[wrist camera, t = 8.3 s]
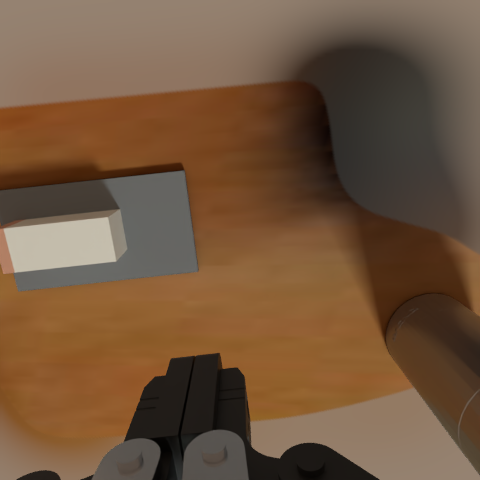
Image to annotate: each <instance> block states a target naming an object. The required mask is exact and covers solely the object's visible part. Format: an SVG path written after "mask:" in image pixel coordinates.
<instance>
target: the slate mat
mask: <svg viewBox="0 0 480 480" xmlns="http://www.w3.org/2000/svg"><path fill="white" fill-rule="evenodd" d="M116 209H120V212H121V217H122V222H123V228H124V233H125V239H126V244H127V250H126V251H125V253H124V254H123V255H122V256H121V257H120V258H119V259H118V260H117V261H116V262H107V263H98V264H89V265H80V266H71V267H62V268H53V269H43V270H34V271H25V272H16V273H14V277H15V280H16V284H17V288H18V291H26V290H35V289H44V288H53V287H62V286H72V285H81V284H90V283H99V282H108V281H117V280H126V279H135V278H144V277H154V276H163V275H172V274H181V273H190V272H198V263H197V256H196V249H195V241H194V234H193V227H192V220H191V212H190V205H189V198H188V191H187V183H186V176H185V170H182V171H173V172H164V173H155V174H146V175H136V176H127V177H118V178H109V179H100V180H91V181H82V182H72V183H63V184H54V185H45V186H36V187H27V188H18V189H8V190H0V223H1V226H3V225H5V224H8V223H11V222H13V221H16V220H25V219H34V218H43V217H52V216H61V215H71V214H80V213H89V212H98V211H107V210H116Z"/></svg>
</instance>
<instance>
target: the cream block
mask: <svg viewBox="0 0 480 480" xmlns="http://www.w3.org/2000/svg"><path fill="white" fill-rule="evenodd" d="M126 250H127V244H126V239H125V233H124V228H123V222H122V217H121V212H120V209H116V210H107V211H98V212H89V213H80V214H71V215H61V216H52V217H43V218H34V219H25V220H16V221H13V222H11V223H8V224H5V225H3V226H0V263H1V266H2V270H3V274H7V273H16V272H25V271H34V270H43V269H53V268H62V267H71V266H80V265H89V264H98V263H107V262H116V261H117V260H118V259H119V258H120V257H121V256H122V255H123V254H124V253H125V251H126Z"/></svg>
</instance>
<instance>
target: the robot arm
mask: <svg viewBox="0 0 480 480" xmlns="http://www.w3.org/2000/svg"><path fill="white" fill-rule="evenodd" d="M386 345H387V348H388V351H389V353H390V355H391V356H392V358H393V359H394V360H395V362H396V363H397V365H398V366H399V367H400V369H401V370H402V371H403V373H404V374H405V376H406V377H407V379H408V380H409V381H410V383H411V384H412V385H413V387H414V388H415V389H416V390H417V392H418V393H419V395H420V396H421V397H422V399H423V400H424V401H425V403H426V404H427V405H428V407H429V408H430V409H431V410H432V412H433V414H434V415H435V416H436V417H437V419H438V420H439V422H440V423H441V424H442V426H443V427H444V428H445V430H446V431H447V432H448V434H449V435H450V436H451V438H452V439H453V440H454V442H455V443H456V444H457V446H458V447H459V448H460V450H461V451H462V453H463V454H464V455H465V457H466V458H467V459H468V460H469V462H470V463H471V464H472V466H473V467H474V468H475V470H476V471H477V472H478V474H479V475H480V316H478V315H477V314H475V313H474V312H473V311H471V310H470V309H468V308H467V307H466V306H464V305H463V304H461V303H460V302H459V301H457V300H455V299H454V298H452V297H450V296H447V295H444V294H435V293H432V294H424V295H421V296H417V297H415V298H413V299H411V300H409V301H407V302H406V303H404V304H403V305H402V306H401V307H399V309H398V310H397V311H396V312H395V313H394V314H393V316H392V318H391V320H390V321H389V324H388V327H387V330H386ZM250 429H251V428H250V415H249V408H248V400H247V392H246V385H245V377H244V375H243V374H242V373H241V371H240V370H239V369H238V368H228V369H222V362H221V356H220V353H215V354H206V355H197V356H196V357H195V356H189V357H180V358H172V359H171V360H170V363H169V366H168V370H167V373H166V376H157V377H154V378H153V379H152V380H151V381H150V382H149V383H148V384H147V385H146V386H145V387H144V390H143V393H142V395H141V398H140V402H139V403H138V406H137V408H136V411H135V414H134V416H133V419H132V422H131V424H130V427H129V429H128V432H127V435H126V437H125V440H124V442H123V443H121V444H119V445H117V446H115V447H114V448H113V449H111V450H110V451H109V452H108V453H107V454H106V455H105V456H104V457H103V459H102V461H101V462H100V464H99V466H98V468H97V470H96V472H95V474H94V475H91V476H89V477H87V478H84V479H81V480H379V479H378V478H376V477H375V476H373V475H371V474H370V473H368V472H367V471H365V470H364V469H362V468H361V467H359V466H357V465H356V464H354V463H353V462H351V461H350V460H348V459H347V458H345V457H343V456H342V455H340V454H339V453H337V452H336V451H334V450H333V449H331V448H329V447H327V446H325V445H322V444H317V443H303V444H299V445H296V446H293V447H291V448H289V449H288V450H287V451H285V452H284V453H283V455H282V456H281V458H280V459H279V458H273V457H268V456H265V455H262V454H261V453H258V452H257V451H256V450H254V449H253V448H252V447H251V430H250ZM17 480H61V479H60V477H59V475H58V474H57V473H55V472H52V471H47V470H45V471H37V472H33V473H30V474H27V475H25V476H22V477H20V478H18V479H17Z"/></svg>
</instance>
